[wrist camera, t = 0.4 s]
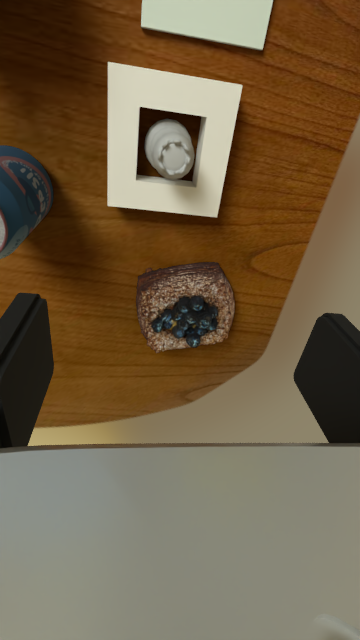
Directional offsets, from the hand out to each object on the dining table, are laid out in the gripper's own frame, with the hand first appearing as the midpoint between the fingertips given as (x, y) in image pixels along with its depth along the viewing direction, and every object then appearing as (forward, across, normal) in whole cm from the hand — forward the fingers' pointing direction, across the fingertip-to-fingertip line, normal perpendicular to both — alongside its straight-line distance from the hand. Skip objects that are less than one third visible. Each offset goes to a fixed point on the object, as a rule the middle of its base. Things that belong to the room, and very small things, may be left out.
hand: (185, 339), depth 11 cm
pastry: (+26, -5, +13) cm, 30 cm away
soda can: (+26, +13, +1) cm, 29 cm away
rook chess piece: (+26, 0, -4) cm, 26 cm away
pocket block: (+25, 0, -4) cm, 26 cm away
